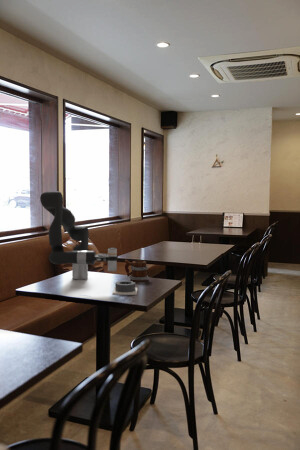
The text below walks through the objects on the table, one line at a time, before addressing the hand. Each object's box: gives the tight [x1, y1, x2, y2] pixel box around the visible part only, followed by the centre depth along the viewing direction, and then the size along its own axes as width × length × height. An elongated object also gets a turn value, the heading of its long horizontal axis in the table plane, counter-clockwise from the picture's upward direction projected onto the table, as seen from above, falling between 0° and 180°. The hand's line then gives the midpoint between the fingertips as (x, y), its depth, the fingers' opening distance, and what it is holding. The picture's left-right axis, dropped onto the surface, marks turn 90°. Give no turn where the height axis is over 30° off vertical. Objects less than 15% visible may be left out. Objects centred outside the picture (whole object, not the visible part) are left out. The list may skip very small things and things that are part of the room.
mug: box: [124, 259, 149, 283], centre depth 260 cm, size 12×14×15 cm
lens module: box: [107, 247, 118, 272], centre depth 227 cm, size 5×5×12 cm
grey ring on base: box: [112, 280, 138, 296], centre depth 229 cm, size 13×13×5 cm
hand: (117, 257), depth 227 cm, fingers closed on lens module, 4 cm apart
